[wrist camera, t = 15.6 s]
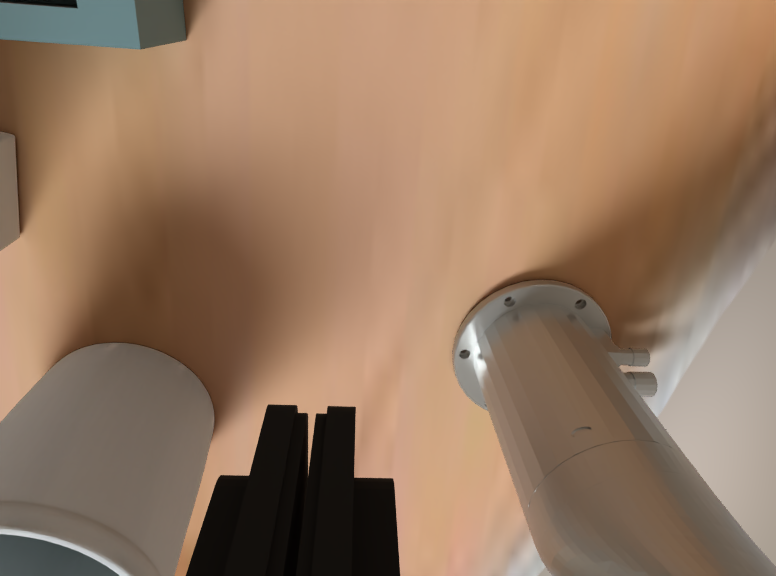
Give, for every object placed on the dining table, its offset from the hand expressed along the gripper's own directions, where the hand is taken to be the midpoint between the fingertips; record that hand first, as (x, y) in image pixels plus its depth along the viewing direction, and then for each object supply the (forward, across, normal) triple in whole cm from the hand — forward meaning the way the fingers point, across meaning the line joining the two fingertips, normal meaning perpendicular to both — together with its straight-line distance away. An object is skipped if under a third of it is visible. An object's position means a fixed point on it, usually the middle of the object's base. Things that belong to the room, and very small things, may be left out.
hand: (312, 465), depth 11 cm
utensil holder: (+28, +17, +22) cm, 40 cm away
